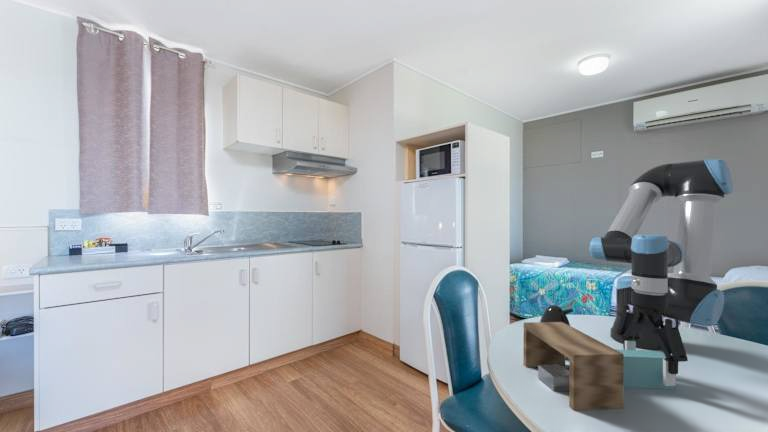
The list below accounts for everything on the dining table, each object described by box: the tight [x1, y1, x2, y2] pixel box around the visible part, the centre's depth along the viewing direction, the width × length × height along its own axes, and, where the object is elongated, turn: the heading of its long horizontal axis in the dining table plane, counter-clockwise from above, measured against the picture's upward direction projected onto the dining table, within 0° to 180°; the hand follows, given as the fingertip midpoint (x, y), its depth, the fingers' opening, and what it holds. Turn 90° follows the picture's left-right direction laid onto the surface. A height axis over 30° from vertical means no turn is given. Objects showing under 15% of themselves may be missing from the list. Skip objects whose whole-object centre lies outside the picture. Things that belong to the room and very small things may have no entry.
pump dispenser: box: [539, 304, 574, 326], centre depth 102 cm, size 10×10×15 cm
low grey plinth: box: [537, 364, 569, 392], centre depth 82 cm, size 6×6×4 cm
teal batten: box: [615, 348, 676, 390], centre depth 84 cm, size 23×4×8 cm, turn 85°
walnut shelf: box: [523, 321, 624, 411], centre depth 83 cm, size 12×22×12 cm, turn 4°
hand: (648, 373), depth 84 cm, fingers open, 11 cm apart
